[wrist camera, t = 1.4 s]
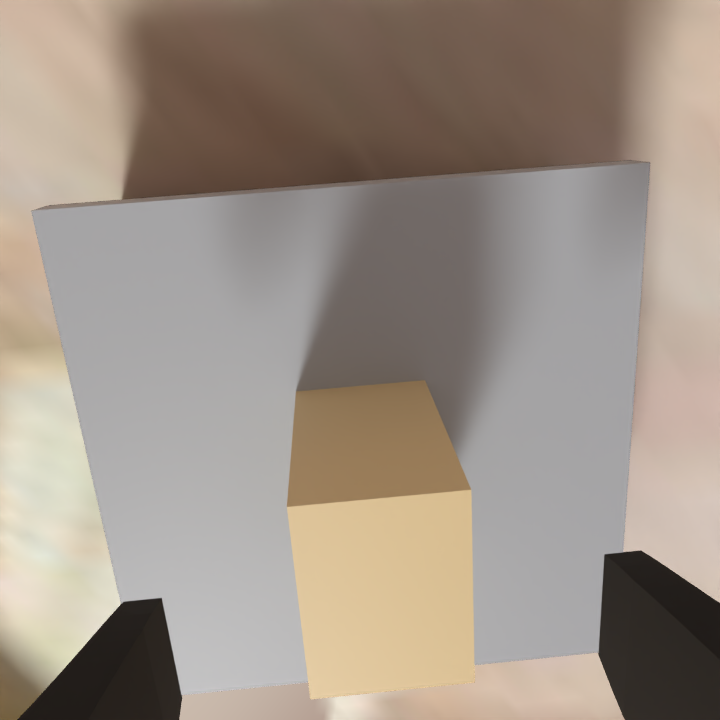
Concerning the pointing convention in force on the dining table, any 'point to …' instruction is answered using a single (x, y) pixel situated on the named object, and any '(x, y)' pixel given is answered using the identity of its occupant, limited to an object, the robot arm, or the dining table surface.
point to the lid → (359, 416)
